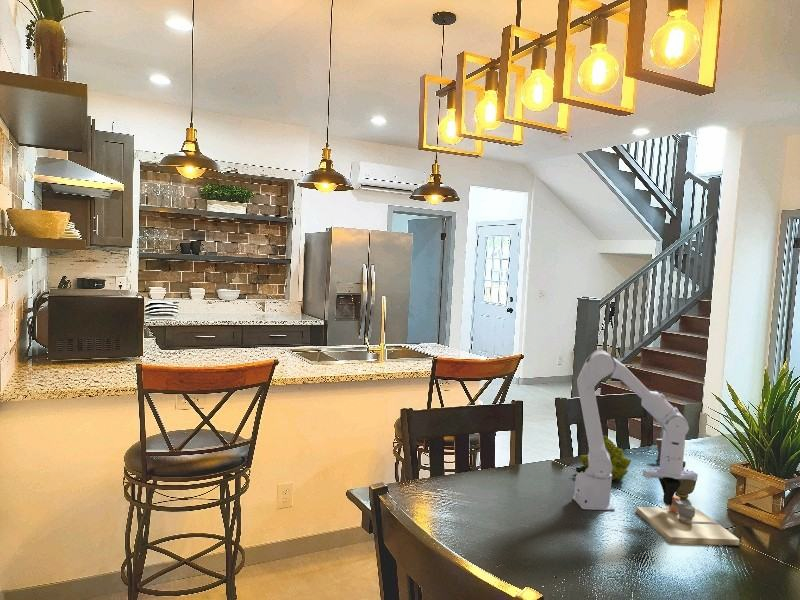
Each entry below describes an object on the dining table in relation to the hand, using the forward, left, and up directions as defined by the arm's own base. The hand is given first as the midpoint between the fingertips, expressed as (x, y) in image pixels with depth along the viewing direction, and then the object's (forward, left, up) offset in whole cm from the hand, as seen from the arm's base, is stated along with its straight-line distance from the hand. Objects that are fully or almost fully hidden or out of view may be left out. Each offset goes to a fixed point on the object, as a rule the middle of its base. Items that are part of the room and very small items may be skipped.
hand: (667, 503), depth 159 cm
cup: (+13, +14, -4) cm, 19 cm away
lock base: (+2, -7, -4) cm, 8 cm away
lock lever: (+2, -4, -1) cm, 4 cm away
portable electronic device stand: (+26, +46, -4) cm, 53 cm away
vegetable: (-5, +29, -4) cm, 30 cm away
